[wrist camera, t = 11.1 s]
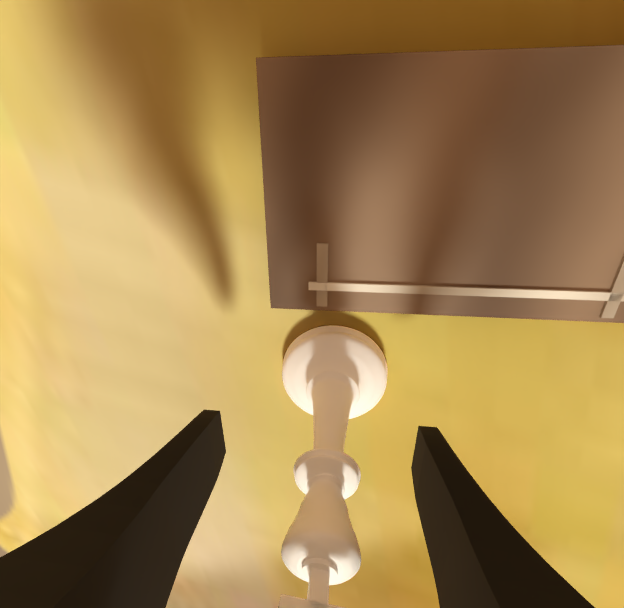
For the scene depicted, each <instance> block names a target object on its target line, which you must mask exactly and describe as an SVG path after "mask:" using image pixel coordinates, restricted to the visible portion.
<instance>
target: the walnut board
mask: <svg viewBox="0 0 624 608" xmlns="http://www.w3.org/2000/svg"><path fill="white" fill-rule="evenodd" d="M256 66H257V83H258V99H259V116H260V133H261V150H262V167H263V184H264V200H265V217H266V234H267V251H268V268H269V285H270V301H271V308H283V309H306V310H330V311H354V312H377V313H401V314H425V315H449V316H472V317H496V318H520V319H544V320H567V321H591V322H615V323H624V45H607V46H579V47H550V48H521V49H492V50H463V51H435V52H406V53H377V54H348V55H320V56H291V57H262V58H256Z"/></svg>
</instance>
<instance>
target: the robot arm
mask: <svg viewBox="0 0 624 608" xmlns="http://www.w3.org/2000/svg"><path fill="white" fill-rule="evenodd" d="M225 453H226V449H225V442H224V435H223V429H222V422H221V415H220V411H214V410H203V411H202V412H201V413H200V414H199V415H198V416H197V417H195V418H194V419H193V420H192V421H191V422H190V423H189V424H188V425H187V426H186V427H185V428H184V429H183V430H181V431H180V432H179V433H178V434H177V435H176V436H175V437H174V438H173V439H172V440H171V441H169V442H168V443H167V444H166V445H165V446H164V447H163V448H162V449H160V450H159V451H158V452H157V453H156V454H155V455H154V456H152V457H151V458H150V459H149V460H148V461H146V462H145V463H144V464H143V465H142V466H140V467H139V468H138V469H137V470H135V471H134V472H133V473H132V474H131V475H129V476H128V477H127V478H125V479H124V480H123V481H122V482H120V483H119V484H118V485H116V486H115V487H114V488H112V489H111V490H109V491H108V492H107V493H105V494H104V495H102V496H101V497H100V498H98V499H97V500H95V501H94V502H92V503H91V504H89V505H88V506H86V507H85V508H83V509H82V510H80V511H78V512H77V513H75V514H74V515H72V516H71V517H69V518H68V519H66V520H64V521H63V522H61V523H60V524H58V525H57V526H55V527H53V528H52V529H50V530H48V531H47V532H45V533H43V534H41V535H40V536H38V537H36V538H35V539H33V540H31V541H29V542H27V543H26V544H24V545H22V546H20V547H19V548H17V549H15V550H13V551H11V552H9V553H8V554H6V555H4V556H3V557H0V608H165V607H166V604H167V601H168V598H169V595H170V592H171V590H172V587H173V584H174V581H175V578H176V575H177V572H178V570H179V567H180V564H181V561H182V559H183V556H184V554H185V551H186V549H187V546H188V544H189V542H190V539H191V537H192V535H193V533H194V530H195V528H196V526H197V524H198V522H199V519H200V517H201V515H202V513H203V510H204V508H205V506H206V504H207V501H208V499H209V497H210V495H211V492H212V490H213V488H214V485H215V483H216V481H217V478H218V475H219V472H220V469H221V466H222V463H223V459H224V456H225ZM411 468H412V476H413V484H414V491H415V499H416V503H417V507H418V511H419V516H420V520H421V524H422V528H423V532H424V536H425V540H426V544H427V549H428V553H429V557H430V561H431V565H432V569H433V573H434V578H435V583H436V588H437V592H438V599H439V605H440V608H595V607H594V606H592V605H591V604H590V603H589V602H588V601H587V600H586V599H585V598H584V597H583V596H582V595H581V594H580V593H578V592H577V591H576V590H575V589H574V588H573V587H572V586H571V585H570V584H569V583H568V582H567V581H566V580H565V579H564V578H563V577H562V576H560V575H559V574H558V573H557V572H556V571H555V570H554V569H553V568H552V567H551V566H550V565H549V564H548V563H547V562H546V561H545V560H544V559H543V558H542V557H541V556H540V555H539V554H538V553H537V552H536V551H535V550H534V549H533V548H532V547H531V546H530V545H529V543H528V542H527V541H526V540H525V539H524V538H523V537H522V536H521V535H520V534H519V533H518V532H517V531H516V529H515V528H514V527H513V526H512V525H511V524H510V523H509V522H508V520H507V519H506V518H505V517H504V516H503V515H502V514H501V512H500V511H499V510H498V509H497V508H496V506H495V505H494V504H493V503H492V502H491V500H490V499H489V498H488V497H487V495H486V494H485V493H484V492H483V490H482V489H481V488H480V487H479V485H478V484H477V483H476V481H475V480H474V479H473V477H472V476H471V475H470V473H469V472H468V471H467V470H466V468H465V467H464V465H463V464H462V463H461V461H460V460H459V458H458V457H457V456H456V454H455V453H454V451H453V450H452V448H451V447H450V446H449V444H448V443H447V441H446V440H445V438H444V437H443V435H442V434H441V432H440V431H439V429H438V428H437V427H424V426H419V427H418V432H417V438H416V444H415V450H414V456H413V462H412V467H411Z"/></svg>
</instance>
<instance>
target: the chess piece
mask: <svg viewBox="0 0 624 608" xmlns="http://www.w3.org/2000/svg"><path fill="white" fill-rule="evenodd" d="M282 379H283V384H284V387H285V389H286V392H287V393H288V395H289V397H290V398H291V399H292V401H293V402H294V403H295V404H296V405H297V406H298V407H300V408H301V409H302V410H304V411H306V412H307V413H309V414H311V415H313V421H314V449H313V450H310V451H307V452H305V453H304V454H302V455H301V456H300V457H299V458H298V459H297V460H296V462H295V465H294V476H295V482H296V484H297V486H298V487H299V489H300V490H301V491H302V492H303V493H305V494H306V496H305V498H304V500H303V502H302V504H301V506H300V509H299V512H298V514H297V516H296V518H295V520H294V522H293V523H292V525H291V526H290V528H289V530H288V532H287V534H286V537H285V539H284V541H283V545H282V550H281V554H282V559H283V561H284V563H285V565H286V567H287V568H288V569H289V570H290V571H291V572H292V573H293V574H294V575H295V576H297V577H298V578H300V579H302V580H304V581H307V582H309V584H308V594H307V599H302V598H298V597H293V596H288V595H284V594H281V596H280V601H279V607H278V608H344V607H339V606H335V605H330V604H328V597H329V585H335V584H340V583H343V582H345V581H347V580H349V579H350V578H352V577H353V576H354V575H355V574H356V573H357V571H358V570H359V568H360V564H361V554H360V549H359V545H358V542H357V538H356V535H355V533H354V531H353V528H352V525H351V522H350V519H349V514H348V509H347V506H346V503H345V501H344V499H346V498H348V497H350V496H351V495H352V494H353V493H354V492H355V491H356V490H357V488H358V485H359V482H360V478H361V473H360V469H359V466H358V465H357V463H356V462H355V461H354V460H353V459H352V458H351V457H350V456H348V455H347V454H345V453H343V451H344V443H345V437H346V431H347V425H348V419H351V418H355V417H358V416H360V415H362V414H364V413H366V412H368V411H369V410H371V409H372V408H373V407H374V406H375V405H376V404H377V403H378V402H379V400H380V399H381V397H382V396H383V394H384V391H385V388H386V384H387V363H386V359H385V357H384V354H383V352H382V351H381V349H380V348H379V346H378V345H377V344H376V343H375V342H374V341H373V340H372V339H371V338H370V337H368V336H367V335H365V334H364V333H362V332H360V331H358V330H355V329H352V328H349V327H345V326H337V325H328V326H321V327H317V328H313V329H311V330H308V331H306V332H304V333H303V334H301V335H300V336H298V337H297V338H296V339H295V340H294V341H293V342H292V343H291V344H290V346H289V347H288V349H287V351H286V353H285V356H284V360H283V370H282Z"/></svg>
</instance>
